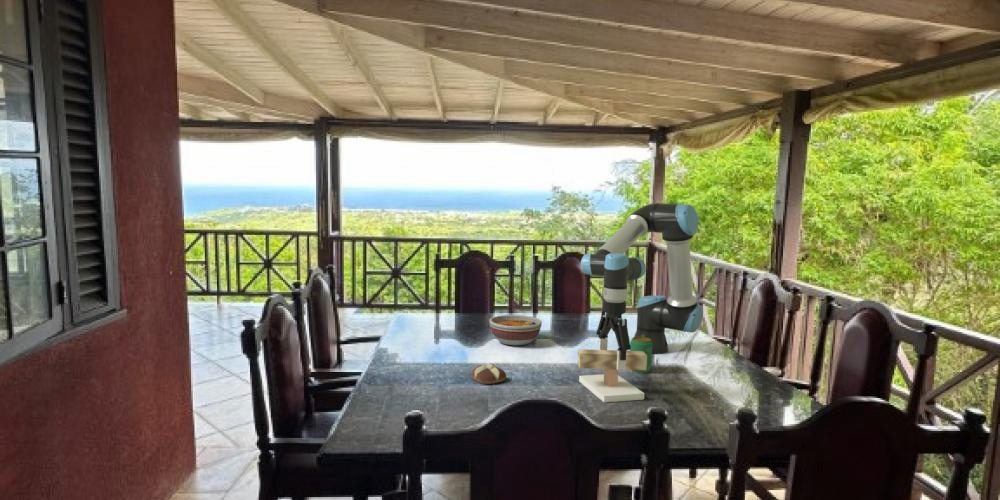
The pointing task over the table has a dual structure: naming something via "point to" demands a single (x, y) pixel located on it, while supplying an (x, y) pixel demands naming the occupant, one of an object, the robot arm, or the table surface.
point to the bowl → (515, 329)
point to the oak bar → (611, 359)
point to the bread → (488, 374)
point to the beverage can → (642, 345)
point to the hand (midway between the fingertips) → (611, 363)
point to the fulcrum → (611, 387)
